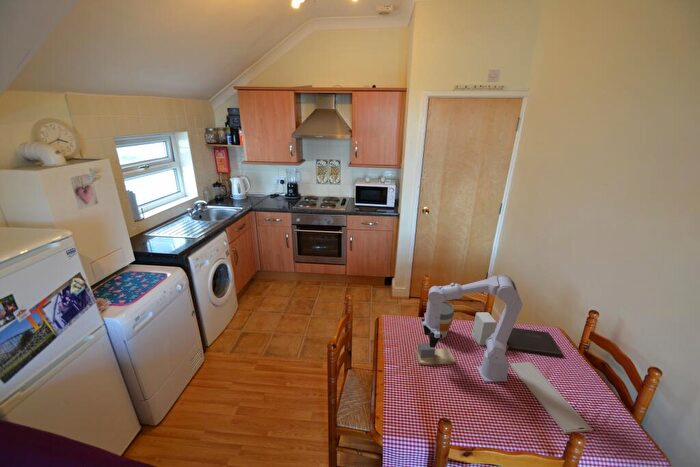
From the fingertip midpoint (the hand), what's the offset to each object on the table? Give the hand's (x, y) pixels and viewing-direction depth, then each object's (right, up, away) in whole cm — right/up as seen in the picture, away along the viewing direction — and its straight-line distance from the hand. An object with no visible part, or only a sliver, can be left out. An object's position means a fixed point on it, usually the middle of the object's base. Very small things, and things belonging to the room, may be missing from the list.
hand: (429, 340), depth 129 cm
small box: (+29, -6, +16) cm, 34 cm away
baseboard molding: (+43, -17, -12) cm, 47 cm away
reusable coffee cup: (+9, -3, +20) cm, 22 cm away
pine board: (+3, -9, +4) cm, 10 cm away
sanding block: (-1, -8, +3) cm, 9 cm away
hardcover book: (+52, -7, +15) cm, 54 cm away
